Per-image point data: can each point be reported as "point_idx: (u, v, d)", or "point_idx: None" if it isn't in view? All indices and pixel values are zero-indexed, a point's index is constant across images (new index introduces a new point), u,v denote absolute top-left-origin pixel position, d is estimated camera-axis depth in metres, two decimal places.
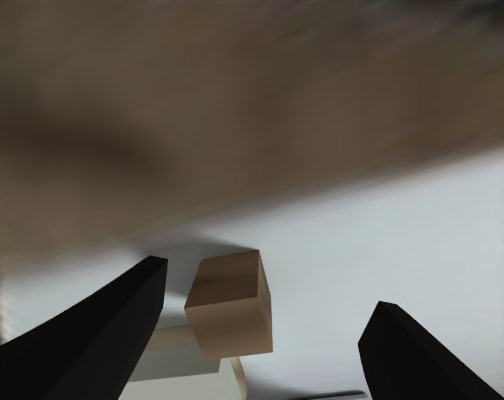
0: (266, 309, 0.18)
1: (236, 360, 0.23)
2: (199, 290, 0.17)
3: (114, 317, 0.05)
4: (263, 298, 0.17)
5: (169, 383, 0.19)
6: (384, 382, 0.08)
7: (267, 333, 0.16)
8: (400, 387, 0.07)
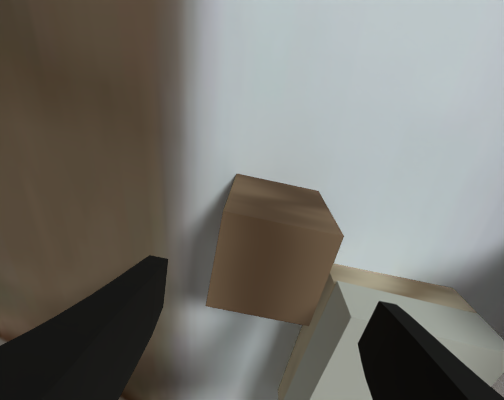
0: (289, 207, 0.11)
1: (395, 283, 0.15)
2: None
3: (114, 317, 0.05)
4: (267, 203, 0.11)
5: (333, 377, 0.13)
6: (384, 382, 0.08)
7: (302, 227, 0.10)
8: (400, 387, 0.07)
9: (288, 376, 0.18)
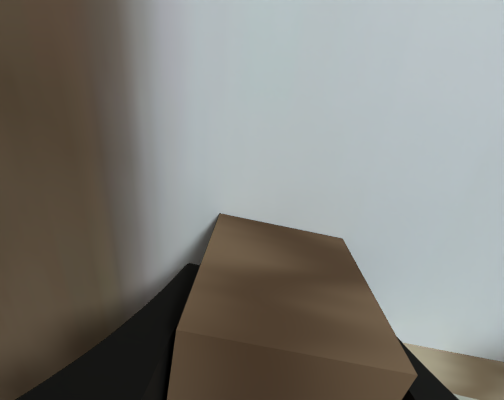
0: (304, 293, 0.06)
1: (449, 366, 0.11)
2: None
3: (175, 328, 0.06)
4: (266, 285, 0.06)
5: None
6: None
7: (335, 357, 0.05)
8: None
9: None
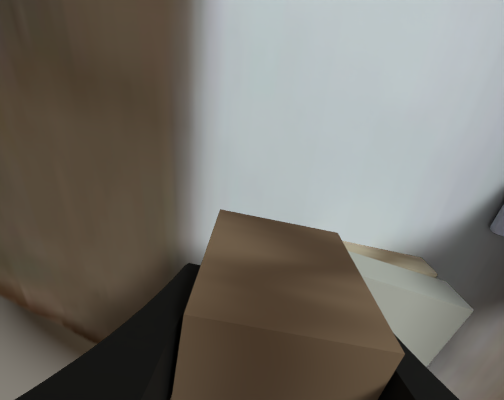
0: (301, 282, 0.07)
1: (371, 251, 0.18)
2: None
3: (174, 328, 0.06)
4: (265, 275, 0.07)
5: None
6: None
7: (329, 338, 0.05)
8: None
9: None
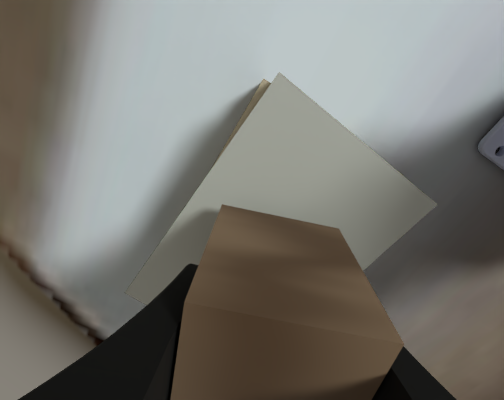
0: (301, 274, 0.07)
1: None
2: None
3: (176, 328, 0.06)
4: (266, 267, 0.07)
5: (228, 169, 0.10)
6: None
7: (328, 328, 0.05)
8: None
9: None
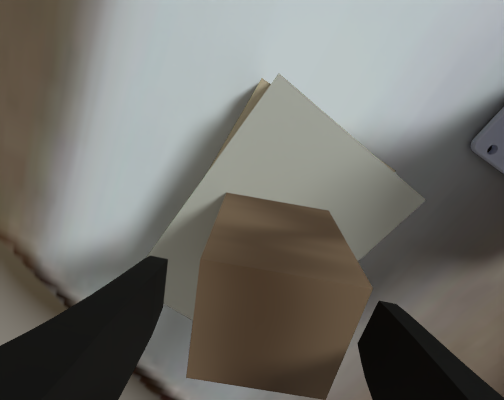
0: (293, 242, 0.08)
1: None
2: None
3: (114, 317, 0.05)
4: (264, 237, 0.08)
5: (230, 164, 0.11)
6: (384, 382, 0.08)
7: (313, 277, 0.07)
8: (400, 387, 0.07)
9: None
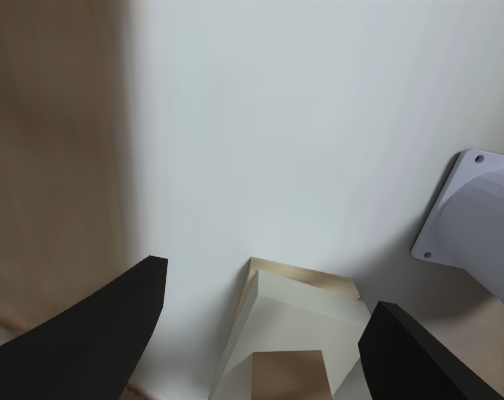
0: None
1: (303, 273, 0.20)
2: None
3: (114, 317, 0.05)
4: None
5: (246, 341, 0.17)
6: (384, 382, 0.08)
7: None
8: (400, 387, 0.07)
9: None
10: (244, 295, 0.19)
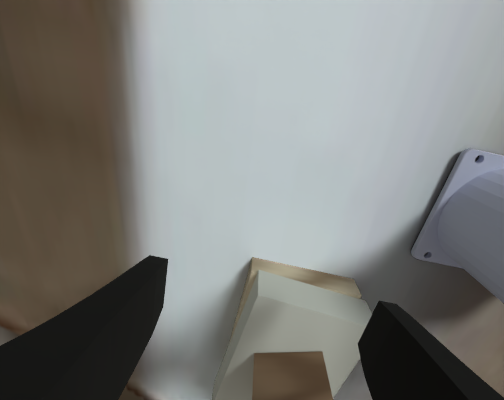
0: None
1: (304, 273, 0.20)
2: None
3: (114, 317, 0.05)
4: None
5: (248, 341, 0.17)
6: (384, 382, 0.08)
7: None
8: (400, 387, 0.07)
9: None
10: (246, 295, 0.19)
